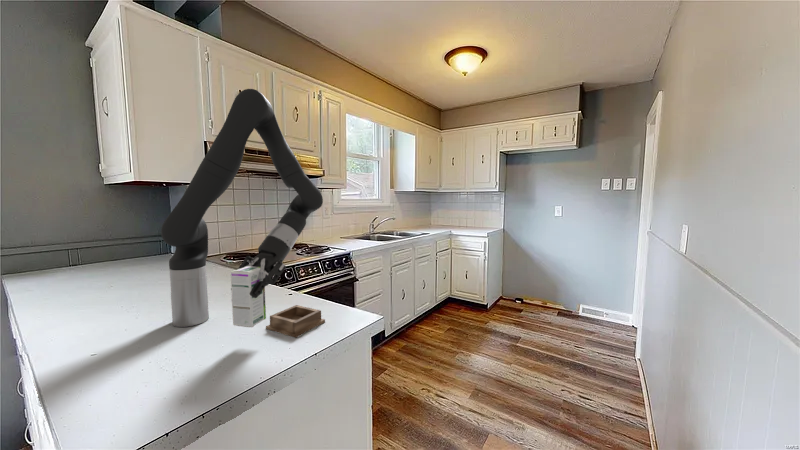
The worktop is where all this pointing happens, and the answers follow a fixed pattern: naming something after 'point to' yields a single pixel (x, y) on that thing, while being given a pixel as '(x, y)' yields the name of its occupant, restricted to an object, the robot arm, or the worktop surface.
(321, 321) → the walnut socket
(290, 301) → the worktop surface
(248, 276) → the syrup box
